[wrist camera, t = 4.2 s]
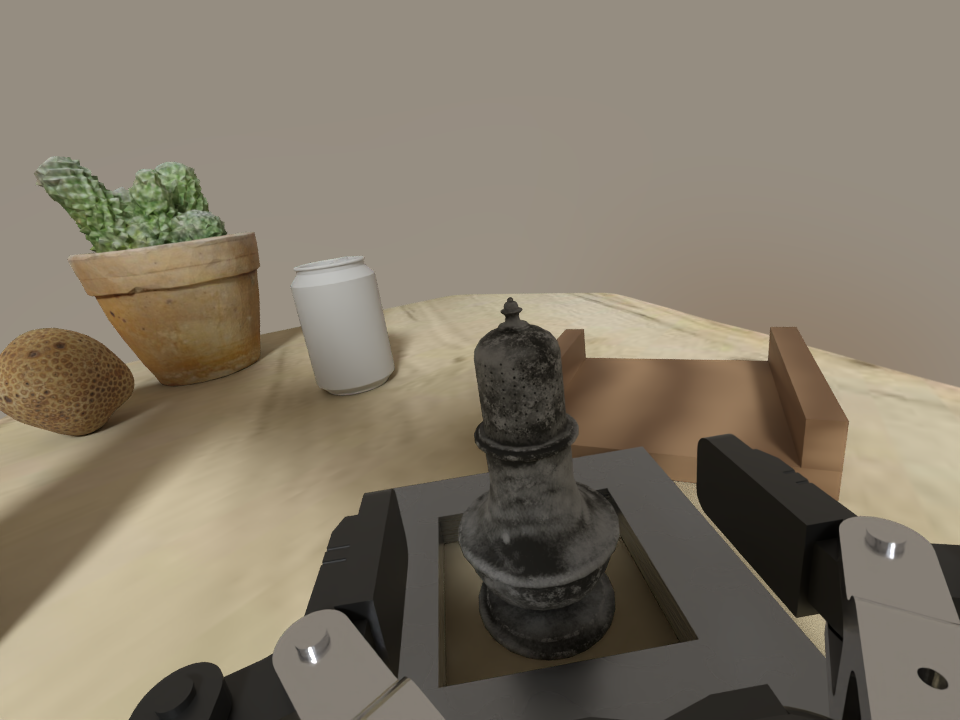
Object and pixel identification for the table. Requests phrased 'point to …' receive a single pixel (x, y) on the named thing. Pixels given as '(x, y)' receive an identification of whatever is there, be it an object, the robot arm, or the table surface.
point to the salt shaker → (535, 504)
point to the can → (343, 324)
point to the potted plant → (164, 269)
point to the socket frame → (672, 579)
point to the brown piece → (708, 407)
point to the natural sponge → (62, 381)
